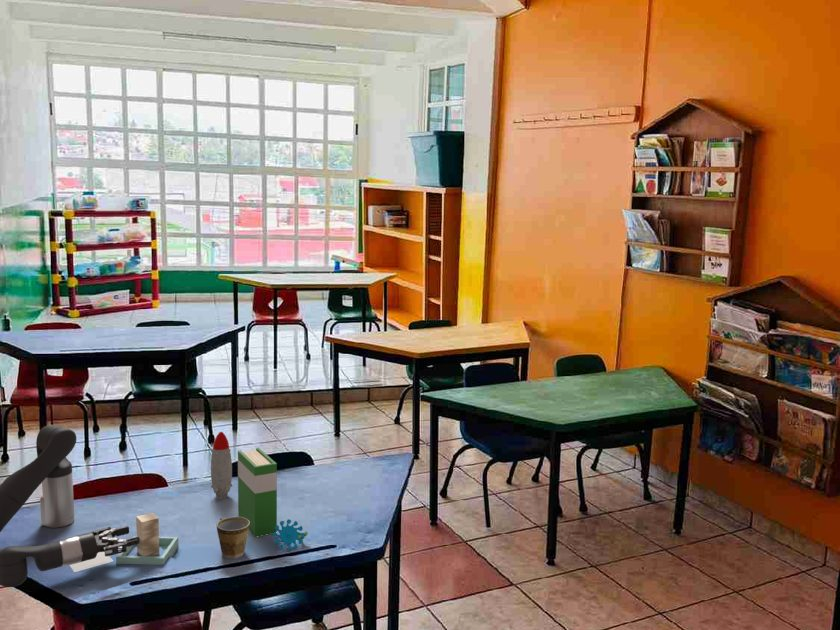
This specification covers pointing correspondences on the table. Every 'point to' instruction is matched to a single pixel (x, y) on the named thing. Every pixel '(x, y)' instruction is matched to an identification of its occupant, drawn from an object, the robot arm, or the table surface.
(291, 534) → the teal virus model
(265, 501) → the hardback book
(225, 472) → the toy rocket
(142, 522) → the birch block
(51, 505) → the robot arm
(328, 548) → the table surface
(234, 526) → the ceramic cup
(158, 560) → the tray
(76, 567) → the white board
